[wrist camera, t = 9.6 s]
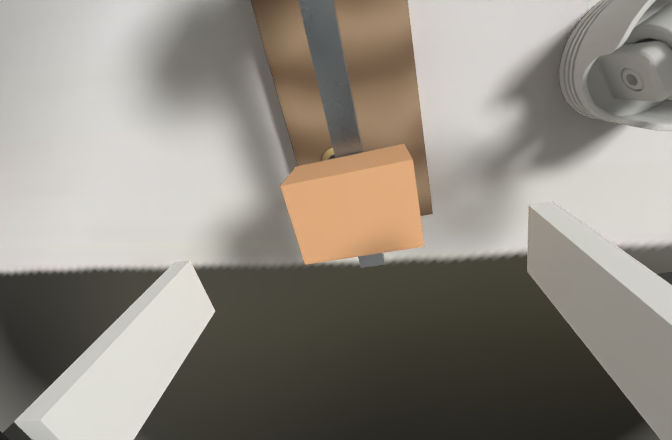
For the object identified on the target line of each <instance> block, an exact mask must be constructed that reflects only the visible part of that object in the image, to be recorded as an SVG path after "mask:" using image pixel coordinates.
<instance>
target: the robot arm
mask: <svg viewBox="0 0 672 440" xmlns="http://www.w3.org/2000/svg"><path fill="white" fill-rule="evenodd" d="M527 271H528V273H529V274H530V275H531V277H532V278H533V279H534V280H535V282H536V283H537V284H538V286H539V287H540V288H541V289H542V290H543V292H544V293H545V294H546V296H547V297H548V298H549V299H550V301H551V302H552V303H553V304H554V306H555V307H556V308H557V309H558V311H559V312H560V313H561V314H562V316H563V317H564V318H565V320H566V321H567V322H568V323H569V324H570V326H571V327H572V328H573V330H574V331H575V332H576V333H577V335H578V336H579V337H580V338H581V340H582V341H583V342H584V343H585V345H586V346H587V347H588V349H589V350H590V351H591V352H592V354H593V355H594V356H595V357H596V359H597V360H598V361H599V362H600V364H601V365H602V366H603V368H604V369H605V370H606V371H607V373H608V374H609V375H610V376H611V377H612V379H613V380H614V381H615V383H616V384H617V385H618V386H619V388H620V389H621V390H622V391H623V393H624V394H625V395H626V396H627V398H628V399H629V400H630V401H631V403H632V404H633V405H634V407H635V408H636V409H637V410H638V412H639V413H640V414H641V415H642V417H643V418H644V419H645V420H646V422H647V423H648V424H649V426H650V427H651V428H652V429H653V431H655V433H656V434H657V436H658V437H659V438H660V439H661V440H672V272H668V273H660V274H655V273H654V272H652V271H651V270H650V269H648V268H647V267H645V266H644V265H643V264H641V263H640V262H638V261H637V260H635V259H634V258H633V257H631V256H630V255H628V254H627V253H626V252H624V251H623V250H621V249H620V248H619V247H617V246H616V245H614V244H613V243H611V242H610V241H609V240H607V239H606V238H604V237H603V236H602V235H600V234H599V233H597V232H596V231H594V230H593V229H592V228H590V227H589V226H587V225H586V224H585V223H583V222H582V221H580V220H579V219H577V218H576V217H575V216H573V215H572V214H570V213H569V212H568V211H566V210H565V209H563V208H562V207H560V206H559V205H558V204H556V203H555V202H553V201H552V202H546V203H540V204H534V205H529V216H528V261H527ZM214 312H215V310H214V308H213V306H212V304H211V302H210V300H209V298H208V296H207V294H206V292H205V290H204V288H203V286H202V284H201V282H200V280H199V278H198V276H197V274H196V272H195V270H194V268H193V266H192V264H191V262H190V261H184V262H178V263H174V264H173V265H172V266H171V267H170V268H169V269H168V270H167V271H166V272H165V273H164V274H163V275H162V276H160V277H159V279H157V280H156V281H155V282H154V283H153V285H151V286H150V287H149V288H148V290H146V291H145V292H144V293H143V295H141V296H140V298H138V299H137V300H136V301H135V302H134V303H133V304H132V305H131V307H129V308H128V309H127V310H126V311H125V312H124V313H123V314H122V315H121V316H120V317H119V318H118V319H117V320H116V321H115V322H114V323H113V324H112V325H111V326H110V327H109V328H108V329H107V330H106V331H105V332H104V333H103V334H102V335H101V336H100V337H99V338H98V339H97V340H96V341H95V342H94V343H93V344H92V345H91V346H90V347H89V348H88V349H87V350H86V351H85V352H84V353H83V354H82V355H81V356H80V357H79V358H78V359H77V360H76V361H75V362H74V363H73V364H72V365H71V366H70V367H69V368H68V369H67V370H66V371H65V372H64V373H63V374H62V375H61V376H60V377H59V378H58V379H57V380H56V381H55V382H54V383H53V384H52V385H51V386H50V387H49V388H48V389H46V390H45V391H44V392H43V393H42V395H40V396H39V397H38V398H37V399H36V400H35V401H34V403H32V404H31V405H30V406H29V407H28V408H27V409H26V410H25V412H23V413H22V414H21V415H20V416H19V417H18V418H17V419H16V420H15V421H14V423H13V424H12V425H11V426H10V427H8V429H6V430H5V431H4V432H3V433H2V432H0V440H133V439H134V438H135V436H136V435H137V433H138V432H139V430H140V428H141V427H142V426H143V424H144V422H145V421H146V419H147V418H148V416H149V415H150V413H151V411H152V410H153V408H154V407H155V405H156V404H157V402H158V400H159V399H160V397H161V396H162V394H163V393H164V391H165V389H166V388H167V386H168V385H169V383H170V382H171V380H172V378H173V377H174V375H175V374H176V372H177V371H178V369H179V367H180V366H181V364H182V363H183V361H184V360H185V358H186V356H187V355H188V353H189V351H190V350H191V349H192V347H193V345H194V344H195V342H196V341H197V339H198V337H199V336H200V334H201V333H202V331H203V330H204V328H205V327H206V325H207V323H208V322H209V320H210V318H211V317H212V316H213V314H214Z"/></svg>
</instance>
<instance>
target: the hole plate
mask: <svg viewBox="0 0 672 440" xmlns="http://www.w3.org/2000/svg"><path fill="white" fill-rule="evenodd" d="M334 1H335V6H336V12H337V17H338V22H339V27H340V32H341V37H342V42H343V47H344V52H345V57H346V63H347V68H348V73H349V78H350V83H351V88H352V93H353V98H354V103H355V108H356V114H357V119H358V124H359V129H360V134H361V139H362V144H363V149H364V152H368V151H372V150H377V149H382V148H386V147H391V146H396V145H401V144H405V146H406V148H407V150H408V151H409V153H410V155H411V157H412V159H413V164H414V171H415V179H416V186H417V193H418V201H419V208H420V216H423V215H428V214H433V212H432V204H431V195H430V187H429V178H428V170H427V162H426V153H425V145H424V136H423V128H422V119H421V111H420V102H419V94H418V85H417V77H416V68H415V60H414V51H413V43H412V34H411V26H410V17H409V9H408V0H334ZM251 3H252V6H253V10H254V13H255V17H256V20H257V24H258V27H259V31H260V34H261V38H262V41H263V45H264V48H265V52H266V55H267V59H268V62H269V66H270V69H271V73H272V76H273V80H274V83H275V87H276V90H277V94H278V97H279V101H280V104H281V108H282V111H283V115H284V118H285V122H286V125H287V129H288V132H289V136H290V139H291V143H292V146H293V150H294V153H295V157H296V161H297V164H298V166H301V165H306V164H311V163H315V162H320V161H325V160H330V159H334V158H335V155H334V151H333V147H332V143H331V138H330V134H329V130H328V126H327V121H326V117H325V113H324V109H323V104H322V100H321V96H320V91H319V87H318V83H317V79H316V74H315V70H314V66H313V62H312V57H311V53H310V49H309V45H308V40H307V36H306V32H305V28H304V23H303V19H302V15H301V11H300V6H299V2H298V0H251Z"/></svg>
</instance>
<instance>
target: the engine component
mask: <svg viewBox="0 0 672 440" xmlns="http://www.w3.org/2000/svg"><path fill="white" fill-rule="evenodd" d="M559 81H560V87H561V90H562V93H563V96H564V98H565V99H566V101H567V102H568V104H569V105H570V106H571V107H572V108H573V109H574V110H575V111H577V112H578V113H579V114H581V115H583V116H586V117H588V118H592V119H597V120H602V121H608V122H613V123H619V124H624V125H629V126H634V127H639V128H644V129H650V130H655V131H672V0H601V1H600V2H599V3H597V4H596V5H595V6H594V7H593V8H592V9H591V10H589V12H588V13H587V14H586V15H585V16H584V17H583V18H582V19H581V20H580V22H579V23H578V25H577V26H576V27H575V29H574V30H573V32H572V33H571V35H570V37H569V39H568V41H567V43H566V45H565V48H564V51H563V53H562V58H561V62H560V68H559Z"/></svg>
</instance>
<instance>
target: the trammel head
mask: <svg viewBox="0 0 672 440" xmlns="http://www.w3.org/2000/svg"><path fill="white" fill-rule="evenodd" d="M280 187H281V190H282V193H283V196H284V200H285V203H286V206H287V209H288V212H289V215H290V218H291V222H292V225H293V228H294V231H295V234H296V237H297V241H298V244H299V247H300V250H301V253H302V256H303V259H304V263H305V264H312V263H319V262H325V261H332V260H338V259H345V258H352V257H358V256H365V255H371V254H378V253H384V252H391V251H398V250H404V249H411V248H417V247H424V246H425V245H424V238H423V230H422V223H421V216H420V208H419V201H418V193H417V186H416V179H415V171H414V164H413V159H412V157H411V155H410V153H409V151H408V150H407V148H406V146H405V144H401V145H396V146H391V147H386V148H382V149H377V150H372V151H368V152H363V153H358V154H353V155H349V156H344V157H339V158H334V159H330V160H325V161H320V162H315V163H311V164H306V165H301V166H296V167H295V168H294V170H293V171H292V172H291V173H290V175H289V176H288V177H287V178H286V180H285V181H284V182H283V183H282V185H281V186H280Z"/></svg>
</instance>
